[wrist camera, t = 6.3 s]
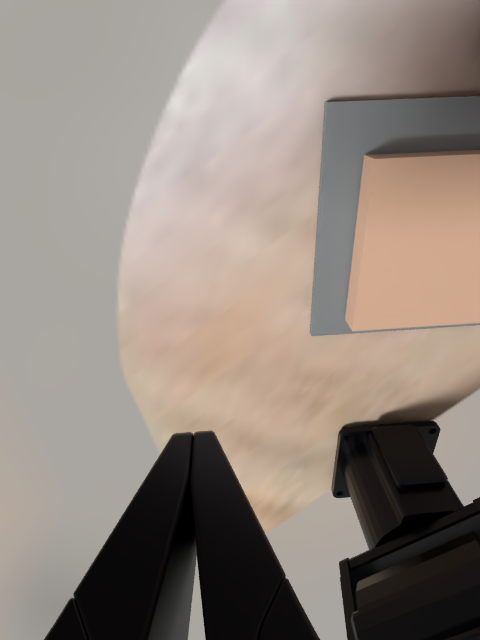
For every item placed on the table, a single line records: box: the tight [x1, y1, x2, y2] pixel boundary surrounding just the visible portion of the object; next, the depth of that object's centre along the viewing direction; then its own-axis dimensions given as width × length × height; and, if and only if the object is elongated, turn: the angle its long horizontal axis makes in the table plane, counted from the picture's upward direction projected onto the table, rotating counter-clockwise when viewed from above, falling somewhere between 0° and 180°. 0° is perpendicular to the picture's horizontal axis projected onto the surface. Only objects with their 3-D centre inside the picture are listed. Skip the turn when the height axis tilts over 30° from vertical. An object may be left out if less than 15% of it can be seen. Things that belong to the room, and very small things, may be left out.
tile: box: [345, 150, 480, 331], centre depth 18 cm, size 8×1×7 cm
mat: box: [310, 96, 480, 336], centre depth 19 cm, size 11×10×1 cm
